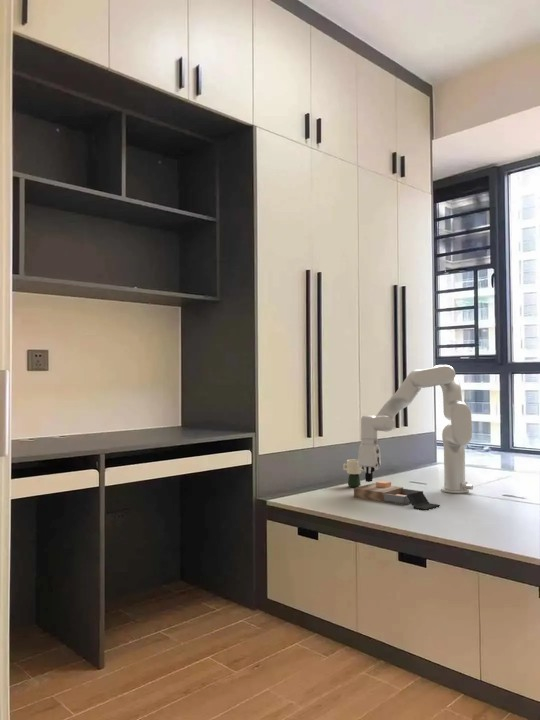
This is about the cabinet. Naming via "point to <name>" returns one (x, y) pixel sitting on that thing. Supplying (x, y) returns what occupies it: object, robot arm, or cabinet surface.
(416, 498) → the black sloped piece
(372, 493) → the board
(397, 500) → the box
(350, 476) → the character mug
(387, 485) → the tile
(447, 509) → the cabinet surface
